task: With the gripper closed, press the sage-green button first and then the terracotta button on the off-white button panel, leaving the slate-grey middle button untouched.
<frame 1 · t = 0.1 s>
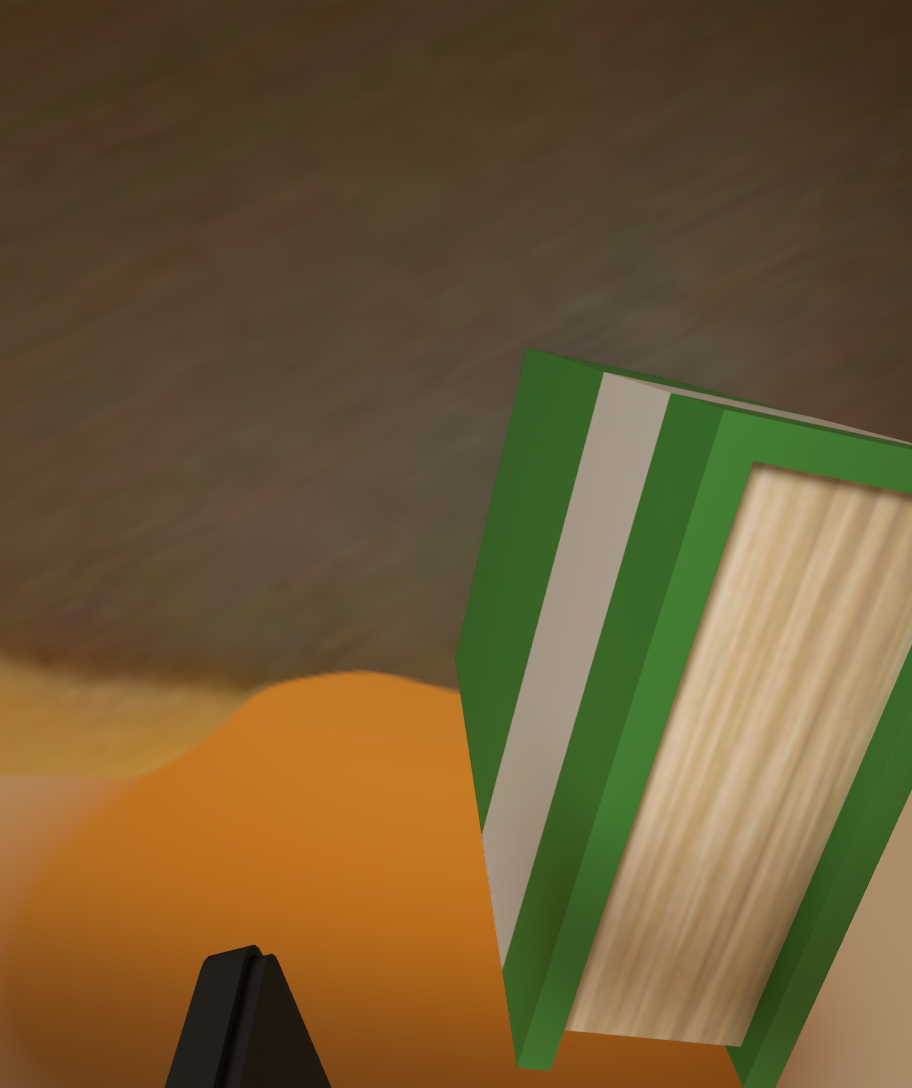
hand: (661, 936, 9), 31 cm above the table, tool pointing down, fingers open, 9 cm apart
hardback book: (553, 523, 40), on the table
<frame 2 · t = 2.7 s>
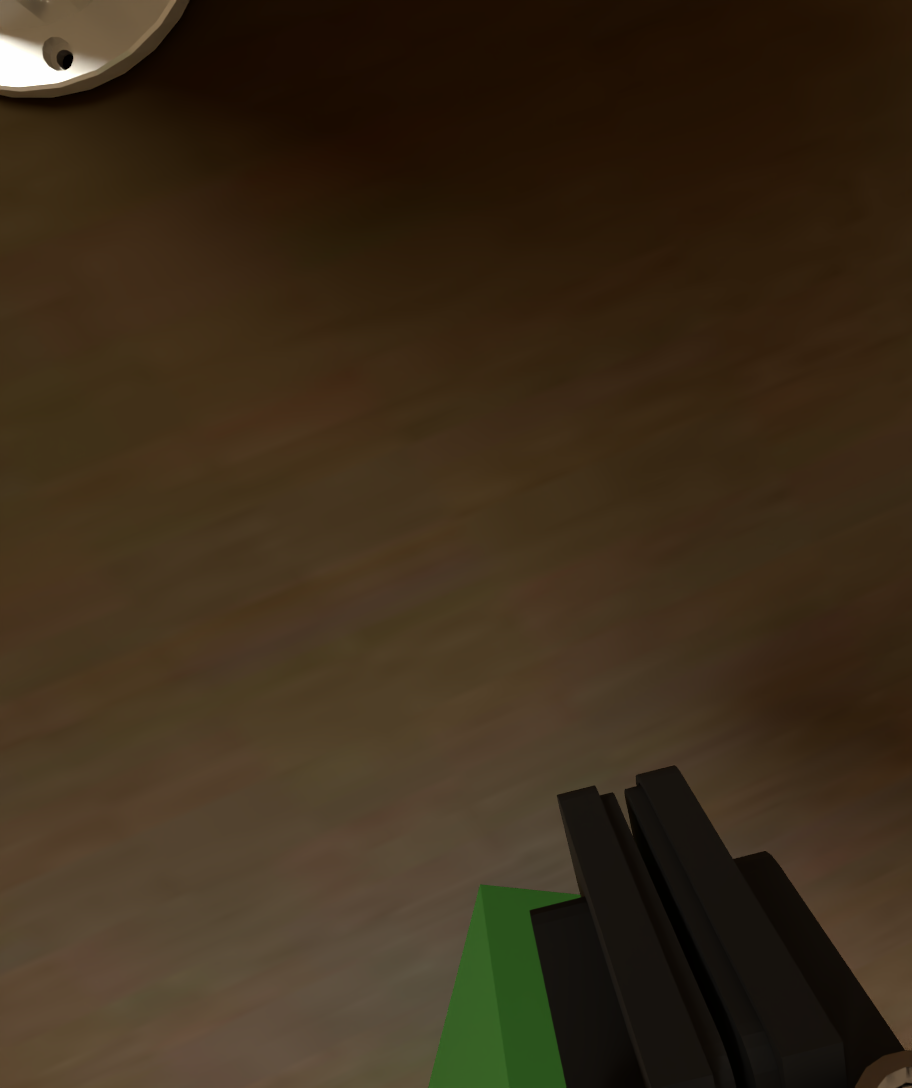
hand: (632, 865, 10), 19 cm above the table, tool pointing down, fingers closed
hardback book: (515, 1027, 37), on the table
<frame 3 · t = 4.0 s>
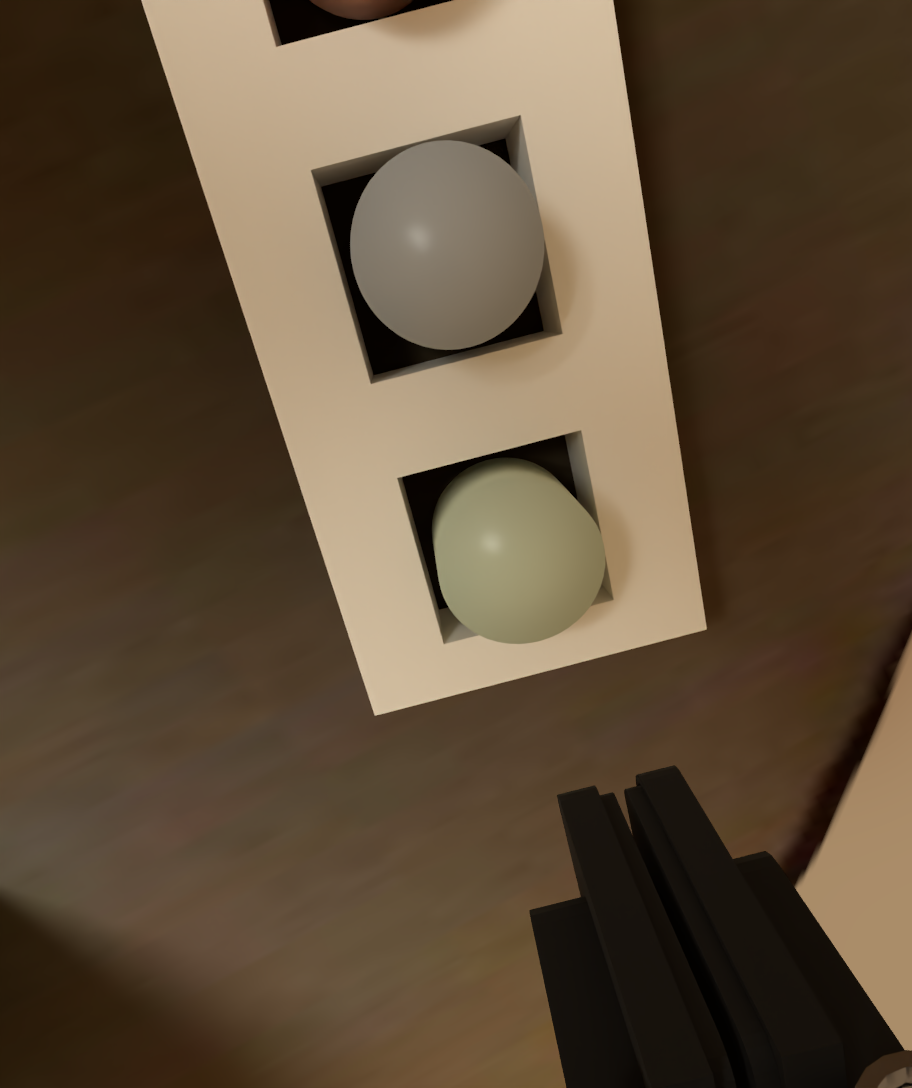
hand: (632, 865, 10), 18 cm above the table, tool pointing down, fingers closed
grey button: (443, 254, 21), point 4 cm above the table, slide at 0.0 cm
sage button: (512, 546, 24), point 4 cm above the table, slide at 0.0 cm
button panel: (436, 261, 24), on the table
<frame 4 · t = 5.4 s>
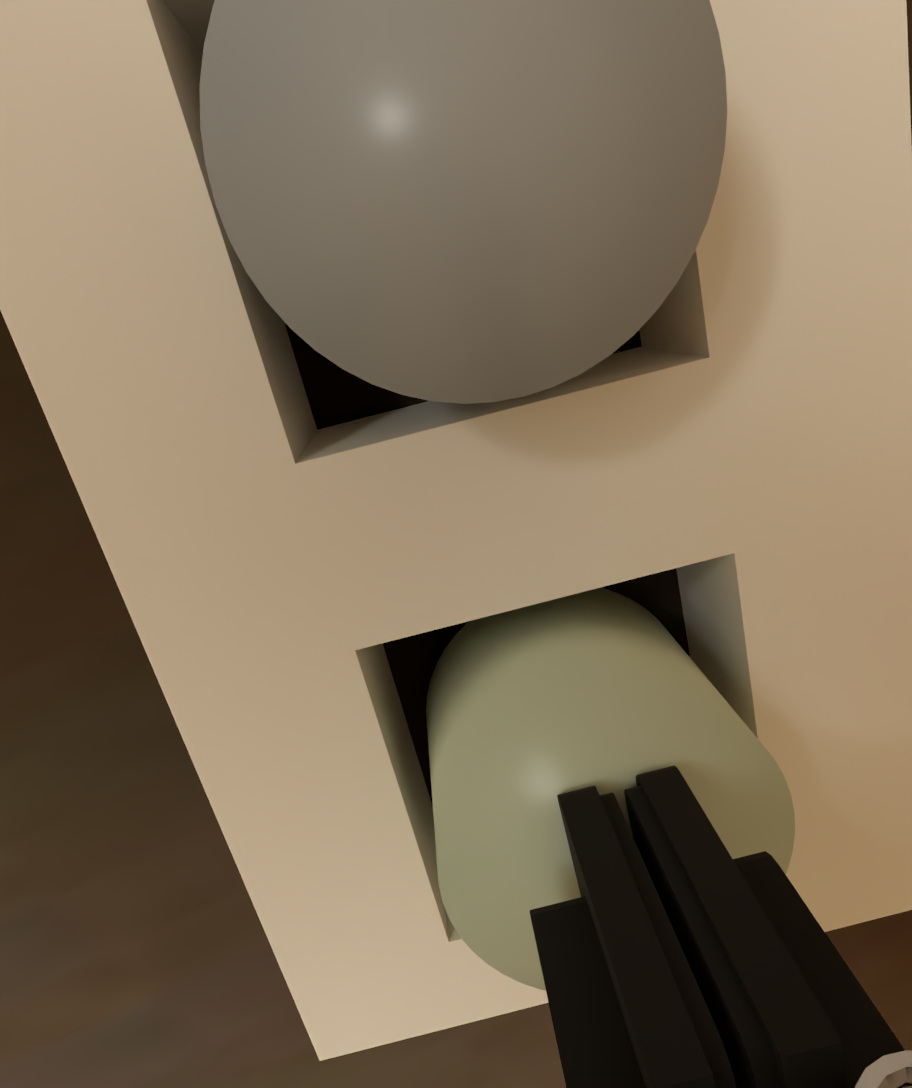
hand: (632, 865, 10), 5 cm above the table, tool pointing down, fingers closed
grey button: (454, 173, 9), point 4 cm above the table, slide at 0.0 cm
sage button: (583, 770, 12), point 3 cm above the table, slide at 0.3 cm, touching gripper
button panel: (438, 210, 12), on the table
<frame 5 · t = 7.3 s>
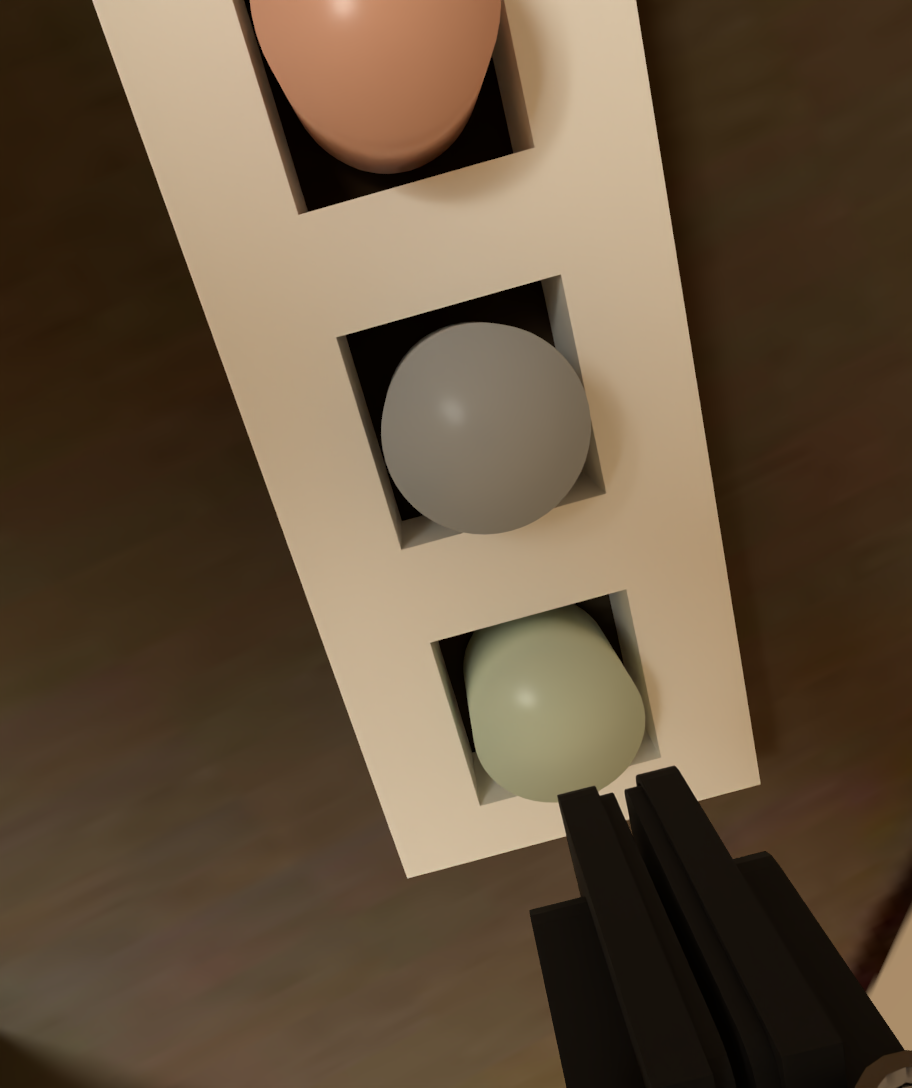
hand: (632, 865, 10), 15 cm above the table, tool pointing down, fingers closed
grey button: (478, 421, 19), point 4 cm above the table, slide at 0.0 cm
sage button: (547, 694, 23), point 3 cm above the table, slide at 1.0 cm
button panel: (468, 405, 23), on the table
terracotta button: (379, 35, 17), point 4 cm above the table, slide at 0.0 cm
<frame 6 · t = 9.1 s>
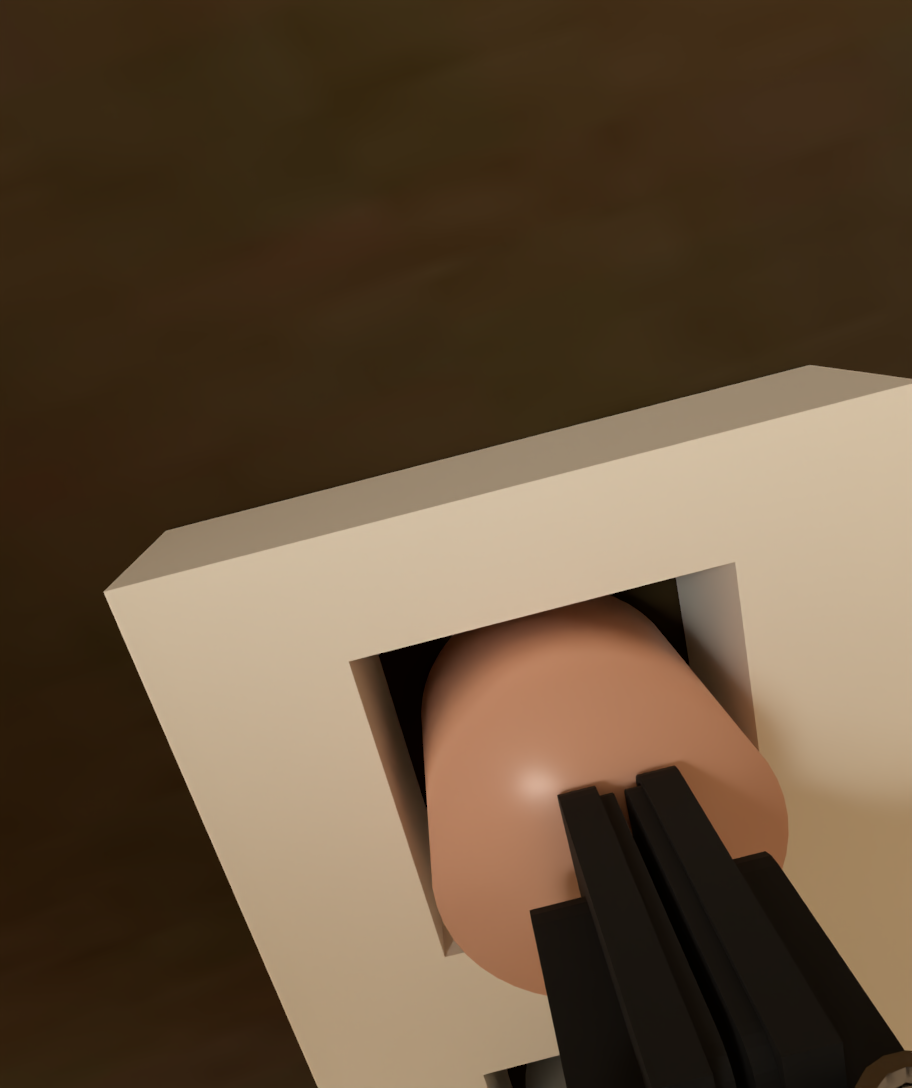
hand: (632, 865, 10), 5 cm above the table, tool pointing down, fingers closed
button panel: (617, 1005, 18), on the table
terracotta button: (577, 773, 12), point 3 cm above the table, slide at 0.6 cm, touching gripper
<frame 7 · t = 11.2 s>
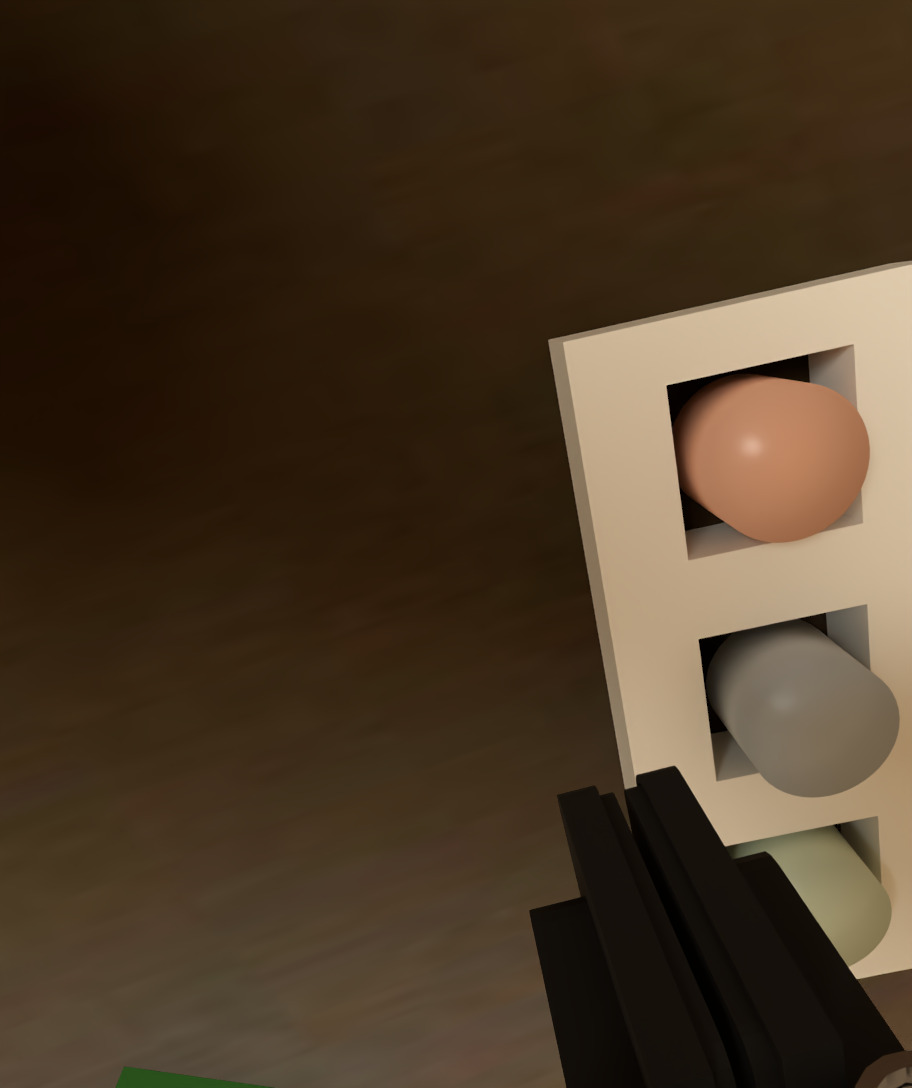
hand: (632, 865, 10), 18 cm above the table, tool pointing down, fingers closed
grey button: (795, 702, 26), point 4 cm above the table, slide at 0.0 cm
sage button: (800, 883, 30), point 3 cm above the table, slide at 1.0 cm
button panel: (754, 659, 30), on the table
terracotta button: (761, 453, 25), point 2 cm above the table, slide at 1.0 cm
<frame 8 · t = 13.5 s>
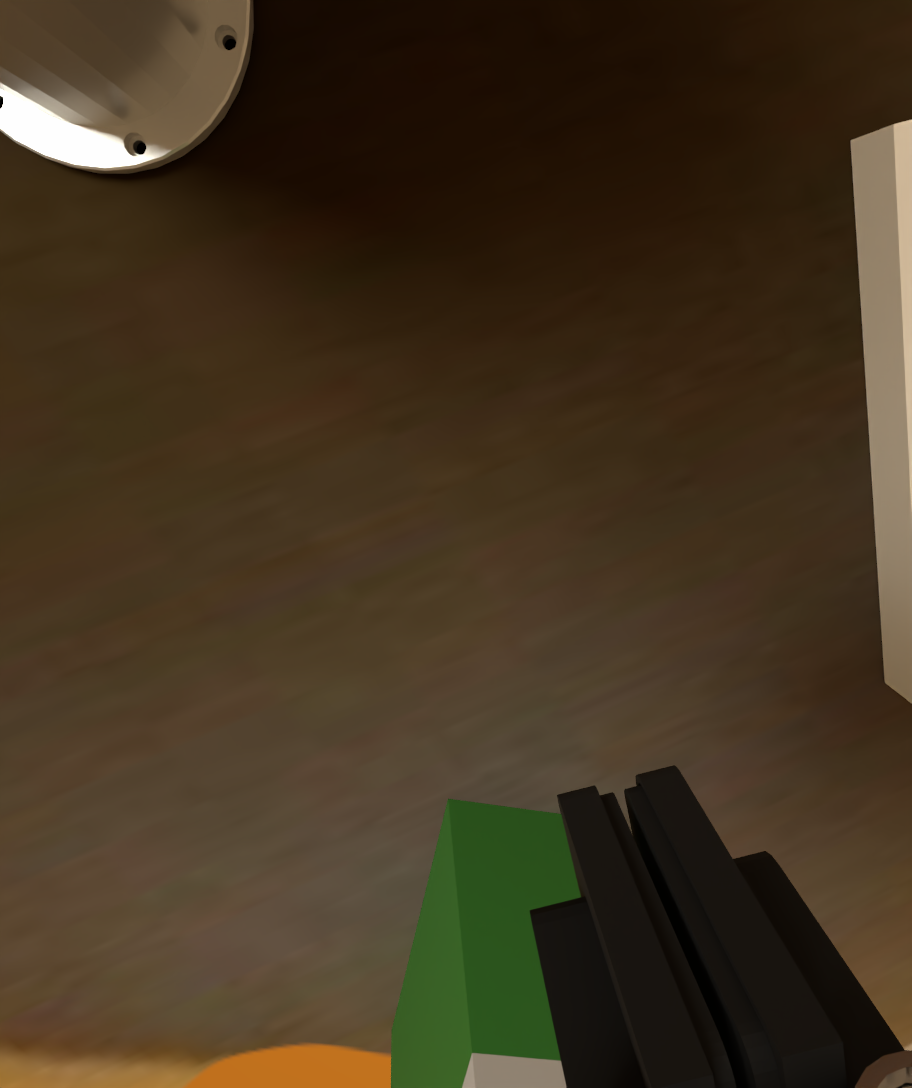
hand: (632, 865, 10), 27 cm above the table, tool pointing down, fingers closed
hardback book: (477, 925, 45), on the table
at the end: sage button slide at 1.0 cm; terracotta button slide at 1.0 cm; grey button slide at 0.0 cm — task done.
